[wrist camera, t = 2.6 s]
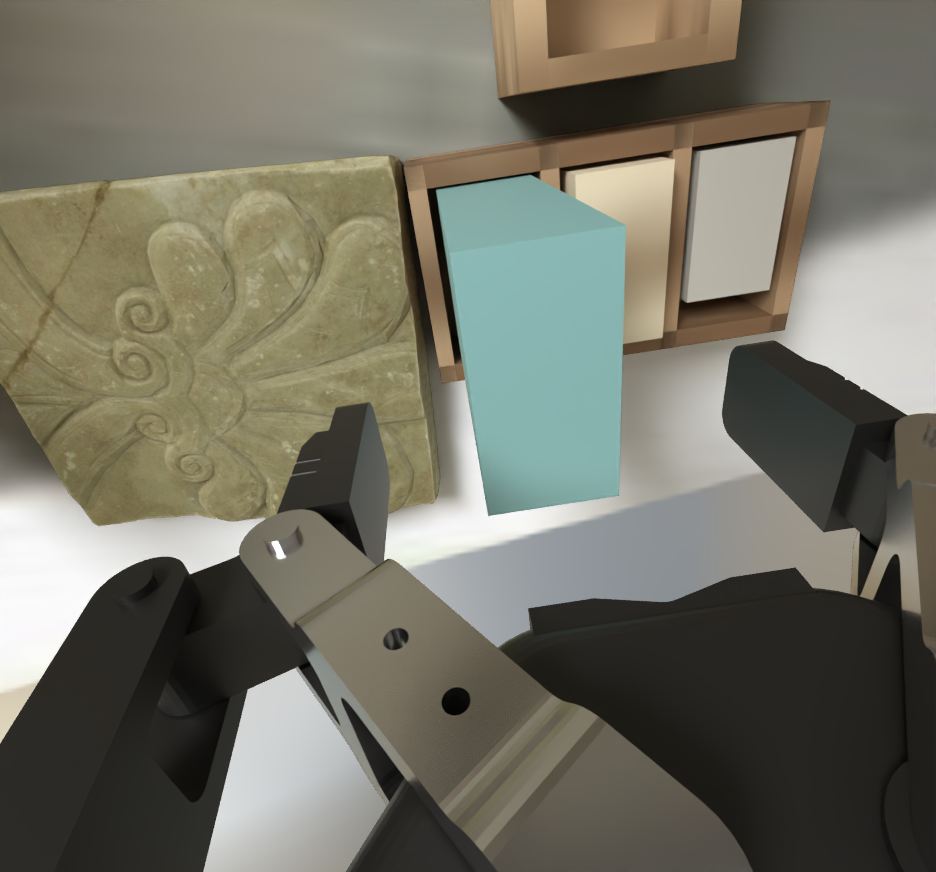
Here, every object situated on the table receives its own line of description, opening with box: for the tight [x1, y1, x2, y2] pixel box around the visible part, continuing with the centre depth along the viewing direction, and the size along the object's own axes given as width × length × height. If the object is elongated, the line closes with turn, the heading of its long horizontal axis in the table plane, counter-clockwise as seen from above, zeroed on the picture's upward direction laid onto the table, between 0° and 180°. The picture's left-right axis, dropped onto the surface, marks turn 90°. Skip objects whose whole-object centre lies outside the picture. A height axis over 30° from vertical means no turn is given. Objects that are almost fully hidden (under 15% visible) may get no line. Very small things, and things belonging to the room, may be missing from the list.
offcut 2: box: [679, 135, 796, 303], centre depth 22 cm, size 6×4×4 cm, turn 8°
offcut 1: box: [559, 154, 675, 344], centre depth 22 cm, size 7×4×4 cm, turn 8°
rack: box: [404, 101, 830, 383], centre depth 23 cm, size 9×16×4 cm, turn 98°
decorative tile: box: [0, 155, 440, 526], centre depth 26 cm, size 19×20×4 cm
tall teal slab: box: [435, 173, 626, 516], centre depth 18 cm, size 7×4×14 cm, turn 8°
